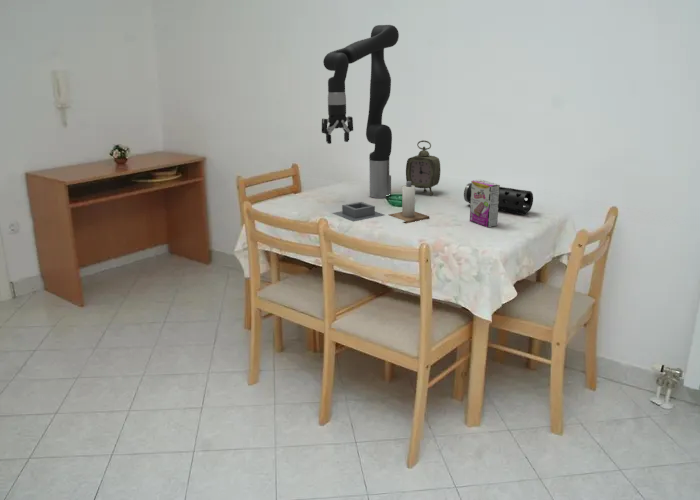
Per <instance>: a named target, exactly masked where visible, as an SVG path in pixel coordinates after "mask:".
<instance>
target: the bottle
mask: <svg viewBox="0 0 700 500" xmlns="http://www.w3.org/2000/svg"><path fill="white" fill-rule="evenodd" d="M405 184H406V185H402V188H401V189H402V198H401V199H402V202H401V203H402V205H401V206H402V207H401V208H402V209H401V212H402V216H404V217H413V216H415V212H416V210H415V209H416V208H415V207H416V204H415V203H416V200H415V199H416V187H415V186H413V185H411V181H407V180H406V183H405Z"/></svg>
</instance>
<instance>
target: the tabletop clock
mask: <svg viewBox="0 0 700 500" xmlns="http://www.w3.org/2000/svg"><path fill="white" fill-rule="evenodd" d="M420 143H427V144H428V145H429V147H427V148H426V146H423V147H420V146H419V144H420ZM431 147H432V144H431V142H430V141H428V140H423V139H422V140H420V141H418V142H417V148H418V149H420V151H419V152H418V155H415V156H411V157H409V158H407V160H406V165H405V179H406V181H411V185H413V186H415V189H416V188H417V189H423V191H422V192H423V193H427V190H428V189H429V195H430V196H433V195H434V193H433V191H432V187H435V186H438V184H439V182H440V179H441V162H440V161H441V160H440V159H439V157H437V156H435V155H430V152H429V151H428V150H430V149H431Z"/></svg>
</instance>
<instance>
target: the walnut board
mask: <svg viewBox="0 0 700 500" xmlns="http://www.w3.org/2000/svg"><path fill="white" fill-rule="evenodd" d="M388 216H391V217H393V218H395V219H398V220H400V221H401V220H402V223H403V224H410V223H415V221H416V222H420V220H421V221H425V220H429V219H430V215H427V214H423V213H421V212H417V211H415V216H413V217H404V216H402V211H399V212H394V213H389V214H388Z"/></svg>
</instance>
